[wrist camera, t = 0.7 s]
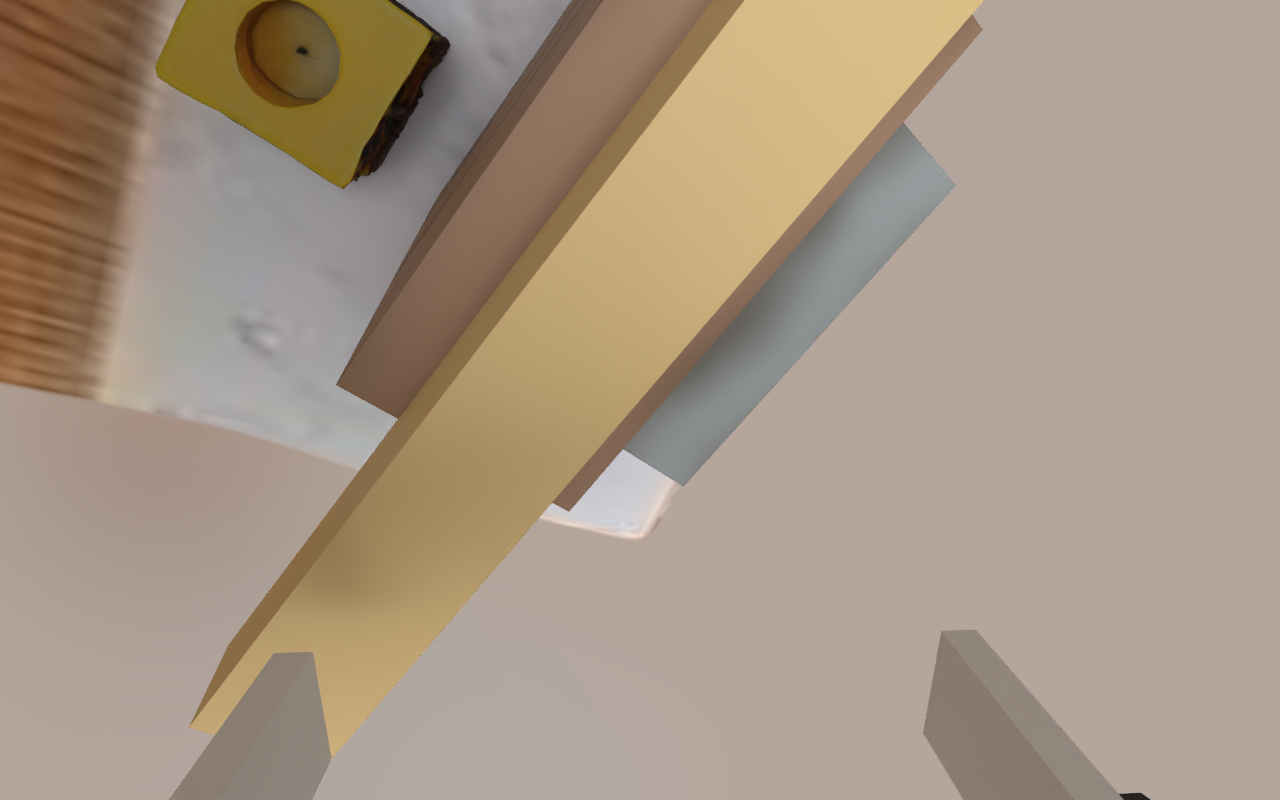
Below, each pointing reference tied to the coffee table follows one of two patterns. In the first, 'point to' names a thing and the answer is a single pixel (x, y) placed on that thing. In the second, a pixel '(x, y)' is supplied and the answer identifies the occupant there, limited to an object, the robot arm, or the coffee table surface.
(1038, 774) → the robot arm
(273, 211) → the coffee table surface
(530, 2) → the coffee table surface
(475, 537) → the ochre batten
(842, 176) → the stepped stand
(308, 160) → the candle
